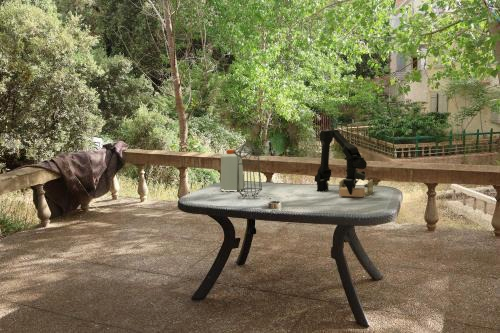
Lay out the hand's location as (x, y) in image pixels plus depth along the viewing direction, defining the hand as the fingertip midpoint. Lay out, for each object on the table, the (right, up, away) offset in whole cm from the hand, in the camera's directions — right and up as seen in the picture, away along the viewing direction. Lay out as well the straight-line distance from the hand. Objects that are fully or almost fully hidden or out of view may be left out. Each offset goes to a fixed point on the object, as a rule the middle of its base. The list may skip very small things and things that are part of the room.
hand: (351, 193), depth 276 cm
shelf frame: (+5, -1, +12) cm, 13 cm away
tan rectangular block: (0, -1, 0) cm, 1 cm away
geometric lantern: (-61, -3, +16) cm, 63 cm away
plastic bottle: (-73, -1, +43) cm, 85 cm away
